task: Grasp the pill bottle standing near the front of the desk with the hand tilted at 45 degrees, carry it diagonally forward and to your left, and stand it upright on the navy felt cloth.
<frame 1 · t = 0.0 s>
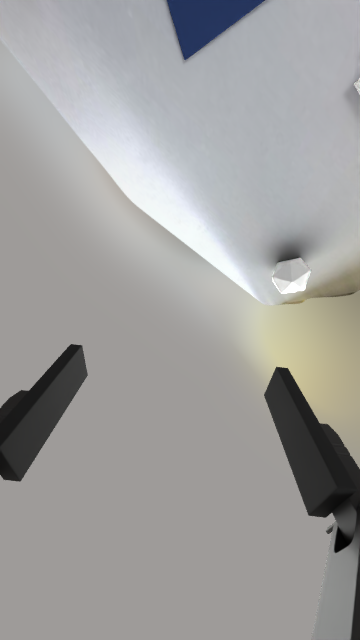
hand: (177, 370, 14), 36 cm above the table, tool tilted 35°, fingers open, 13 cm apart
die: (288, 263, 53), on the table
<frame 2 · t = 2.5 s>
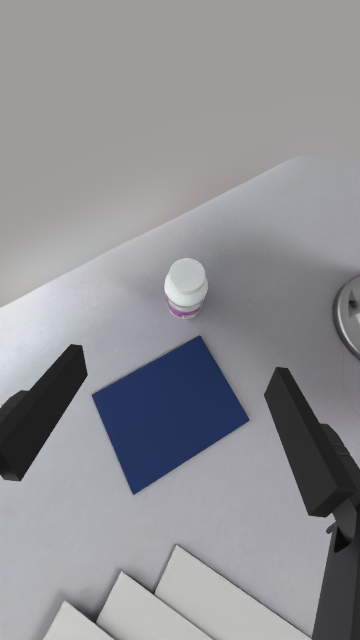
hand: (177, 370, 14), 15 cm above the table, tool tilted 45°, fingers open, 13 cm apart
pill bottle: (184, 303, 31), on the table
cloth: (169, 407, 27), on the table
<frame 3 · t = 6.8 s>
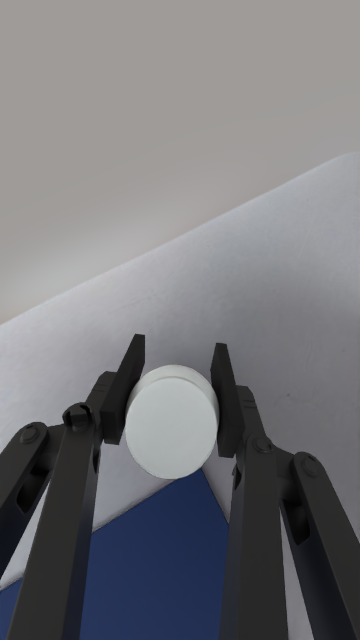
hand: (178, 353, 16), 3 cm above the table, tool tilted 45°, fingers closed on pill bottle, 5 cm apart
pill bottle: (173, 398, 18), on the table, touching gripper
cloth: (138, 628, 14), on the table
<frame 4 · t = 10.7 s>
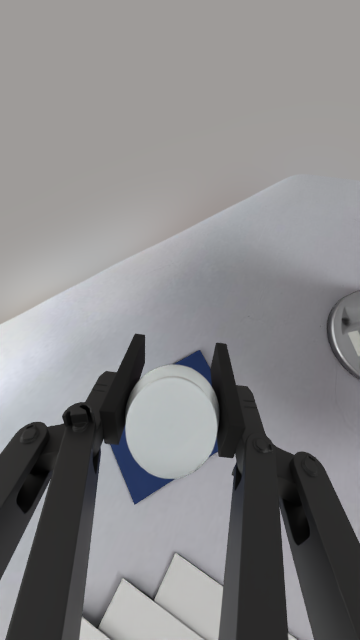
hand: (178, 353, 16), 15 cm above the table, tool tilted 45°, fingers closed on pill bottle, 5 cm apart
pill bottle: (173, 398, 18), point 12 cm above the table, touching gripper
cloth: (170, 419, 28), on the table
when the fingers open (4 cm above the table, at t = 14.7 s): pill bottle stays where it is, resting on cloth.
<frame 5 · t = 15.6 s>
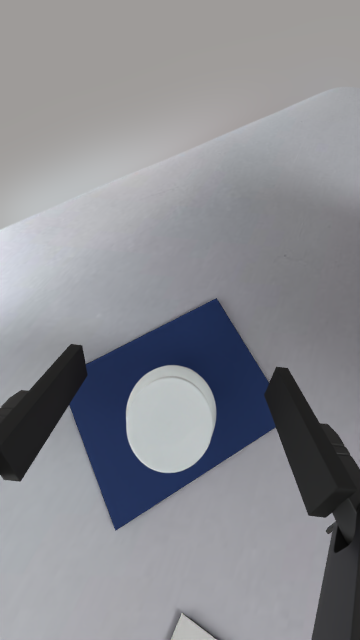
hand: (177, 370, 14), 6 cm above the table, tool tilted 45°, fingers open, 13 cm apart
pill bottle: (172, 398, 19), resting on cloth
cloth: (173, 397, 19), on the table
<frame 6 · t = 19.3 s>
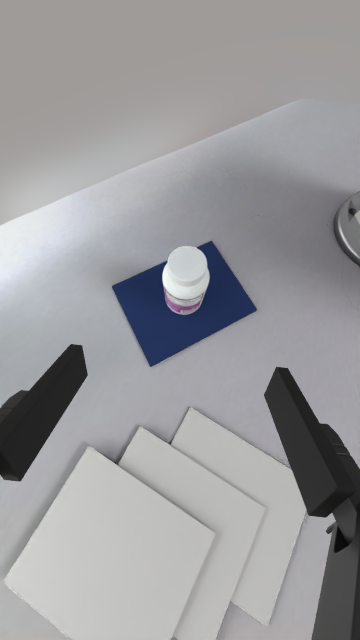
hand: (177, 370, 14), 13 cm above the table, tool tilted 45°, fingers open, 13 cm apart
pill bottle: (183, 298, 29), resting on cloth
paper stack: (171, 525, 22), on the table
cloth: (183, 298, 29), on the table
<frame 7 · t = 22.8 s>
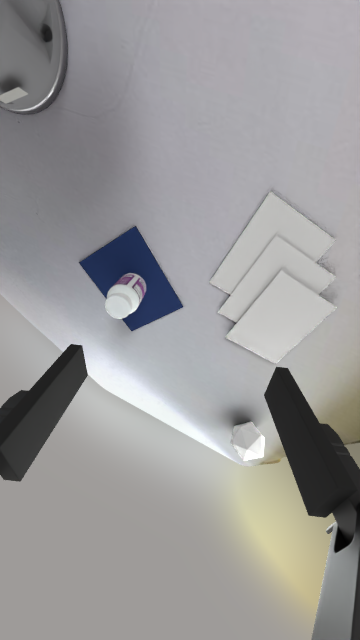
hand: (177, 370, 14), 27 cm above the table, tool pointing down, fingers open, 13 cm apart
pill bottle: (133, 285, 39), resting on cloth
paper stack: (272, 293, 39), on the table
die: (244, 425, 59), on the table
cloth: (133, 285, 39), on the table
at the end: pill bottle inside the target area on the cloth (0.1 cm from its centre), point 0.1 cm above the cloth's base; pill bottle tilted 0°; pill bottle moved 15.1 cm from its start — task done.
